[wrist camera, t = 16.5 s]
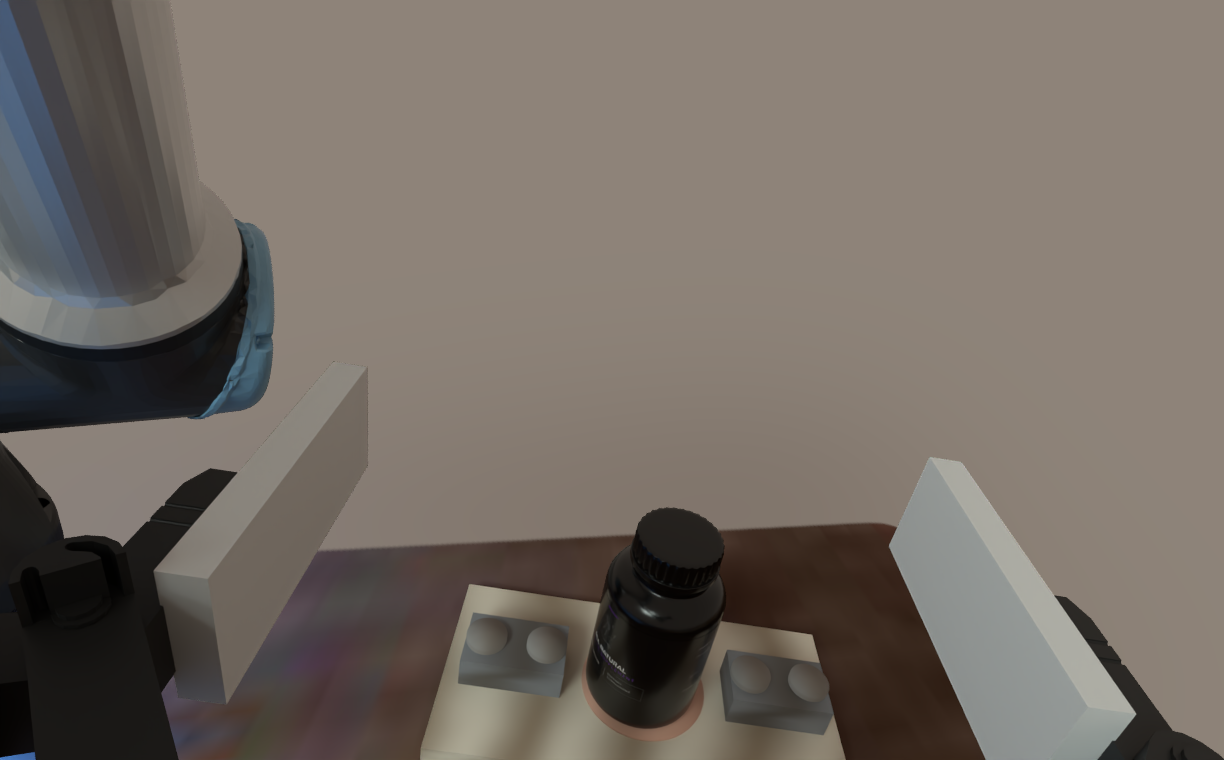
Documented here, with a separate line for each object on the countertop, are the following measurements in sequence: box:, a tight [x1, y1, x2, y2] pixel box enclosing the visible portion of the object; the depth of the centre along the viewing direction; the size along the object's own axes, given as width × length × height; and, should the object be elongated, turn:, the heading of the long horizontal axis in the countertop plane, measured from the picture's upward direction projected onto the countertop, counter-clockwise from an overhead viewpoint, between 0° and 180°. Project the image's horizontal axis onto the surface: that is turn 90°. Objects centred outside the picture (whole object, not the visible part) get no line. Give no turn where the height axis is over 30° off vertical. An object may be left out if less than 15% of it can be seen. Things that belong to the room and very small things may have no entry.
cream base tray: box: [420, 584, 846, 760], centre depth 43 cm, size 24×12×3 cm, turn 88°
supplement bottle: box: [586, 508, 726, 729], centre depth 40 cm, size 7×7×12 cm
